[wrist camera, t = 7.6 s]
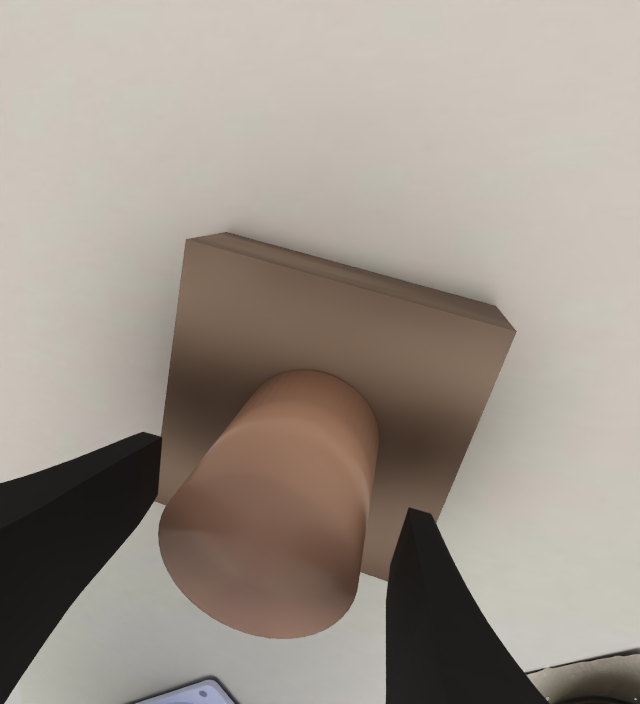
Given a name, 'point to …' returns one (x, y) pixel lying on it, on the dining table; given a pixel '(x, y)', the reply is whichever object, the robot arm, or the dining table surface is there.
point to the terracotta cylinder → (278, 510)
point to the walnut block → (331, 365)
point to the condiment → (592, 681)
